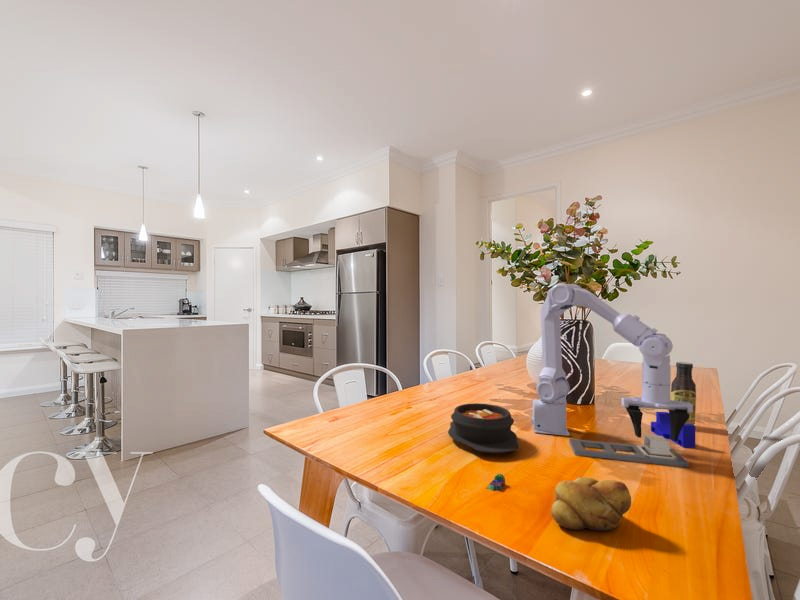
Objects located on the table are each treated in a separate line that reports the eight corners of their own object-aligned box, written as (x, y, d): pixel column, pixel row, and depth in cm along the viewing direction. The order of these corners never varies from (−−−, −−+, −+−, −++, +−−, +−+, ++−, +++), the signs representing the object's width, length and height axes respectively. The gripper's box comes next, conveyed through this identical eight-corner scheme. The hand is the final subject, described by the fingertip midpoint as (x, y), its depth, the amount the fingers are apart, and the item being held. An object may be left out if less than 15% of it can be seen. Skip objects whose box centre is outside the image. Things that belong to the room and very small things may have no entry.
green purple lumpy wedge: (492, 482, 77) (492, 471, 77) (505, 486, 75) (505, 475, 75) (484, 490, 73) (484, 478, 73) (497, 494, 72) (497, 483, 72)
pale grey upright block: (650, 460, 86) (650, 440, 86) (644, 454, 90) (643, 434, 90) (669, 462, 85) (669, 442, 85) (662, 456, 89) (662, 436, 89)
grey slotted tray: (574, 455, 89) (574, 449, 89) (569, 443, 97) (569, 437, 97) (688, 467, 83) (688, 461, 83) (672, 453, 90) (672, 447, 90)
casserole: (537, 457, 88) (538, 423, 88) (466, 463, 85) (466, 428, 85) (493, 423, 113) (493, 397, 113) (436, 427, 109) (436, 399, 109)
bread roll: (565, 541, 57) (566, 491, 57) (535, 507, 67) (535, 464, 67) (638, 535, 59) (638, 486, 59) (598, 502, 68) (598, 460, 68)
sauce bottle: (673, 428, 108) (673, 363, 109) (666, 422, 114) (666, 360, 114) (699, 431, 106) (699, 365, 106) (691, 425, 112) (691, 361, 112)
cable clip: (650, 431, 106) (650, 411, 107) (667, 432, 106) (667, 412, 106) (676, 447, 95) (676, 425, 95) (695, 448, 94) (695, 425, 94)
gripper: (628, 384, 86) (627, 440, 86) (699, 388, 82) (699, 447, 82) (619, 378, 93) (618, 430, 93) (684, 382, 89) (684, 436, 89)
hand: (655, 437), depth 88 cm, fingers open, 7 cm apart
